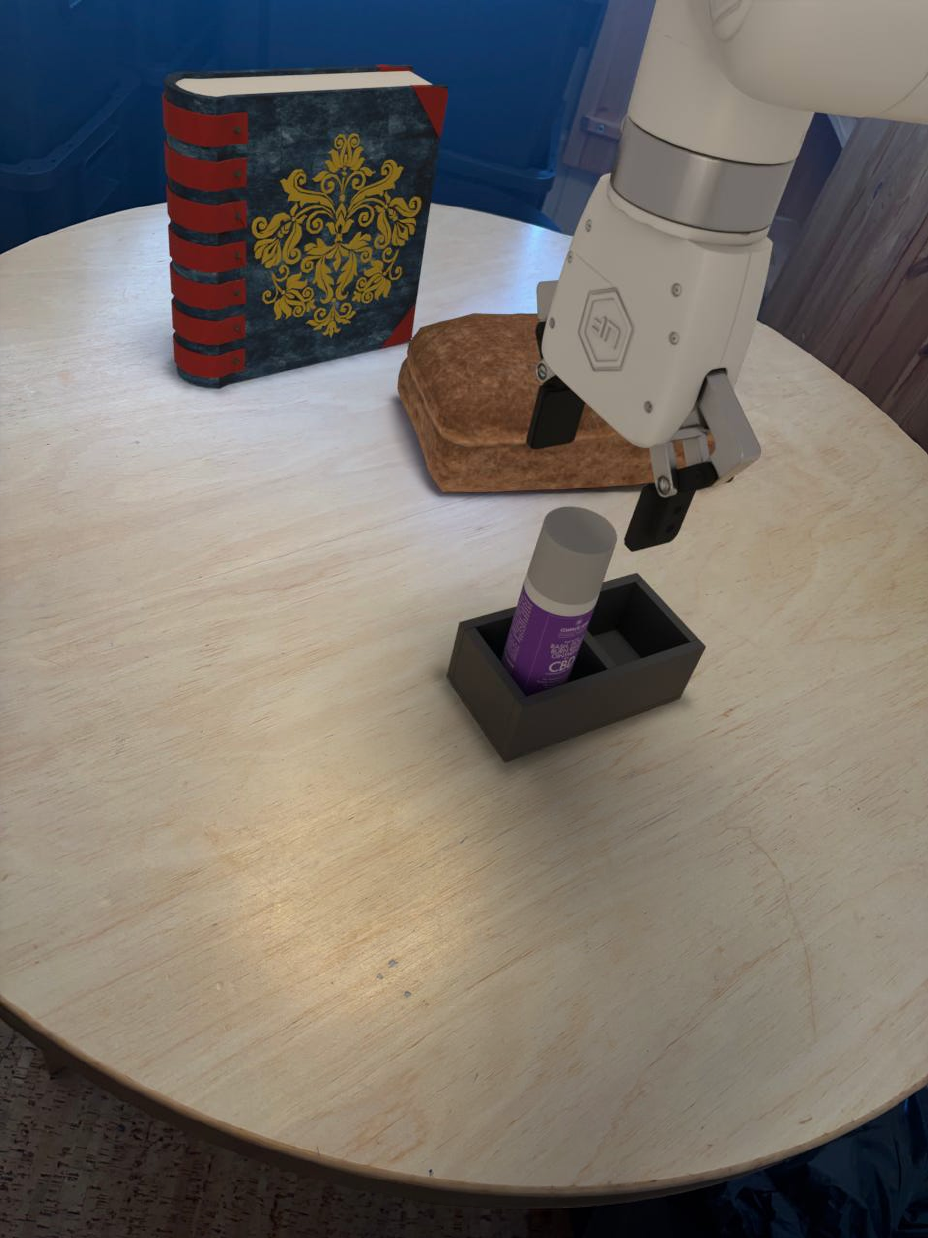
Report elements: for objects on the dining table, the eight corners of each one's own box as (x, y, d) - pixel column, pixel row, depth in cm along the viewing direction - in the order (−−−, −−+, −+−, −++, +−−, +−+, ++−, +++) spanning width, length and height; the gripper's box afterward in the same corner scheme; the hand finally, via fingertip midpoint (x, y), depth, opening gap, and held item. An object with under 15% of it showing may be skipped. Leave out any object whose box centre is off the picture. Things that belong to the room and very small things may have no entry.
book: (195, 395, 86) (188, 101, 69) (159, 358, 90) (144, 68, 73) (414, 344, 100) (454, 87, 83) (376, 313, 103) (407, 60, 86)
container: (537, 734, 64) (597, 567, 53) (479, 698, 65) (527, 529, 55) (570, 694, 67) (632, 529, 57) (514, 661, 68) (565, 494, 58)
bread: (725, 491, 90) (773, 385, 82) (429, 501, 81) (451, 384, 73) (654, 393, 101) (689, 292, 94) (386, 392, 92) (401, 280, 84)
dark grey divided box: (680, 698, 69) (706, 646, 66) (504, 762, 62) (522, 709, 59) (616, 624, 74) (637, 571, 70) (445, 676, 67) (458, 621, 63)
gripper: (524, 108, 45) (464, 418, 57) (769, 269, 35) (636, 605, 47) (645, 111, 49) (565, 402, 60) (899, 257, 39) (745, 573, 50)
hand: (596, 491), depth 54 cm, fingers open, 9 cm apart
